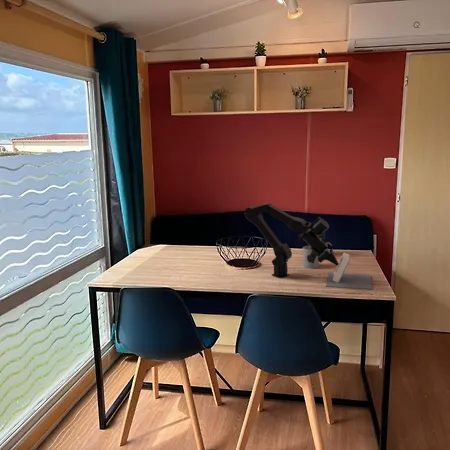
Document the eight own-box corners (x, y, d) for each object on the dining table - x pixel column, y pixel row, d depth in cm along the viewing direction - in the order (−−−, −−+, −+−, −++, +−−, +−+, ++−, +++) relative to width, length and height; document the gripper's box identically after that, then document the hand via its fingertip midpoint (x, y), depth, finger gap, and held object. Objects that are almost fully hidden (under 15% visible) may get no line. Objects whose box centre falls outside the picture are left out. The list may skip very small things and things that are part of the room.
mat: (325, 286, 208) (326, 285, 208) (328, 273, 227) (328, 272, 227) (372, 289, 203) (372, 288, 202) (370, 275, 221) (370, 274, 221)
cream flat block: (332, 280, 212) (343, 257, 208) (333, 273, 221) (344, 252, 218) (338, 283, 211) (349, 260, 208) (339, 276, 220) (349, 254, 217)
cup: (300, 267, 239) (300, 248, 237) (305, 263, 246) (305, 245, 244) (316, 269, 235) (316, 250, 233) (320, 265, 242) (321, 246, 240)
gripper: (303, 247, 226) (326, 270, 225) (299, 257, 209) (324, 282, 208) (320, 232, 223) (343, 255, 222) (317, 241, 205) (342, 266, 204)
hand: (337, 264), depth 214 cm, fingers closed
